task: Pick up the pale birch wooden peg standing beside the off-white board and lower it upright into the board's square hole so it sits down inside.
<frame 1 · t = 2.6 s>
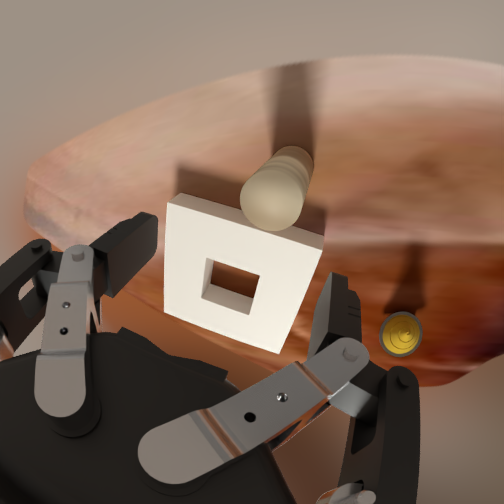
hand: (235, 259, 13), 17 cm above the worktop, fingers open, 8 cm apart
wooden peg: (292, 166, 27), on the worktop
socket board: (236, 272, 35), on the worktop
drill bit: (395, 315, 32), on the worktop
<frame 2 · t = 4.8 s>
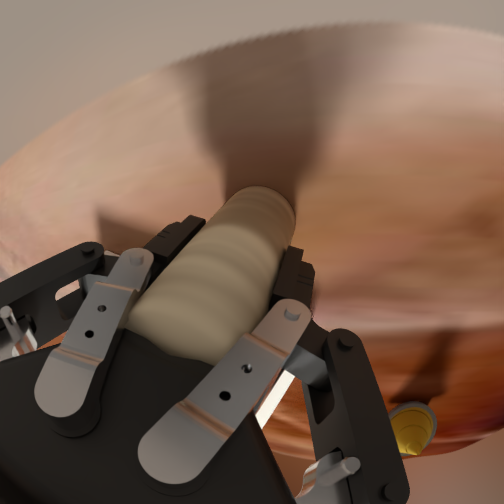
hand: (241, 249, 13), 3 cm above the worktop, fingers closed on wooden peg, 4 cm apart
wooden peg: (259, 220, 16), on the worktop, touching gripper
socket board: (192, 353, 24), on the worktop
drill bit: (404, 403, 21), on the worktop
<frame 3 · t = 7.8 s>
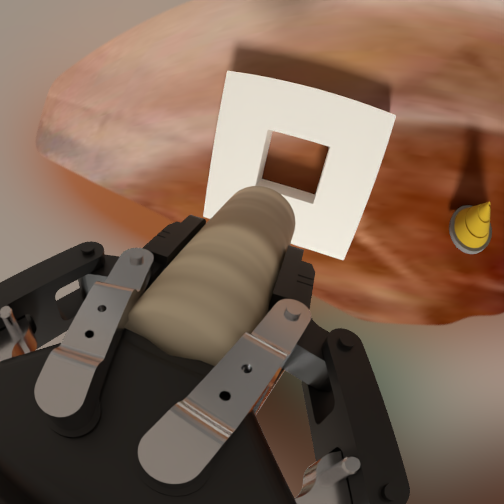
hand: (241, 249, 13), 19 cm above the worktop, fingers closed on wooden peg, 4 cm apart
wooden peg: (259, 220, 16), point 16 cm above the worktop, touching gripper
socket board: (295, 160, 29), on the worktop
drill bit: (460, 212, 27), on the worktop
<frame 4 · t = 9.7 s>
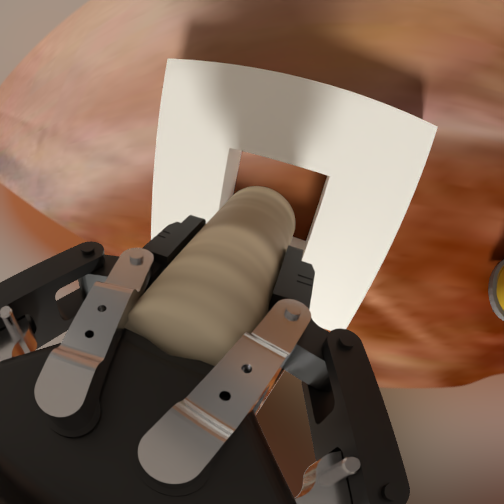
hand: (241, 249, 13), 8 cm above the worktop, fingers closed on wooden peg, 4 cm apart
wooden peg: (259, 220, 16), point 5 cm above the worktop, touching gripper
socket board: (276, 191, 20), on the worktop
drill bit: (502, 263, 17), on the worktop
when the fingers open (5 cm above the worktop, at t = 11.2 s): wooden peg drops 1 cm, resting in socket board.
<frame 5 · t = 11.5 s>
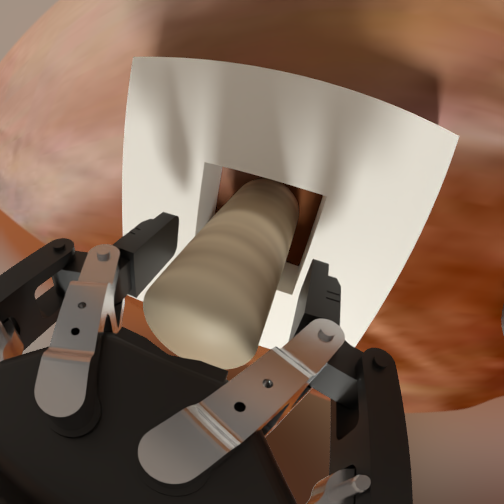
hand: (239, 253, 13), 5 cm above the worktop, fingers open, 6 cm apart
wooden peg: (265, 210, 17), resting in socket board
socket board: (264, 210, 17), on the worktop
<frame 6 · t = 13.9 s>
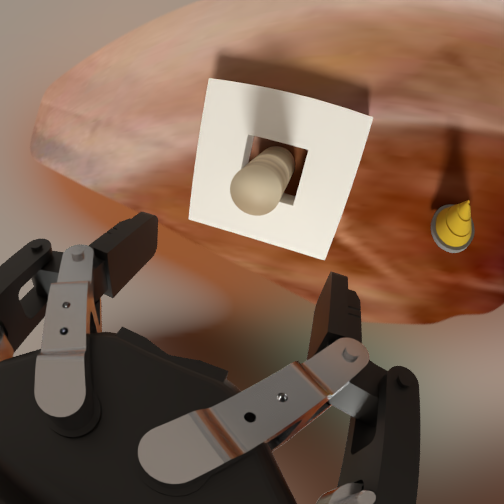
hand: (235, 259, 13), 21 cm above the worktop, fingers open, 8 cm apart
wooden peg: (276, 163, 31), resting in socket board
socket board: (276, 163, 31), on the worktop
drill bit: (442, 212, 28), on the worktop
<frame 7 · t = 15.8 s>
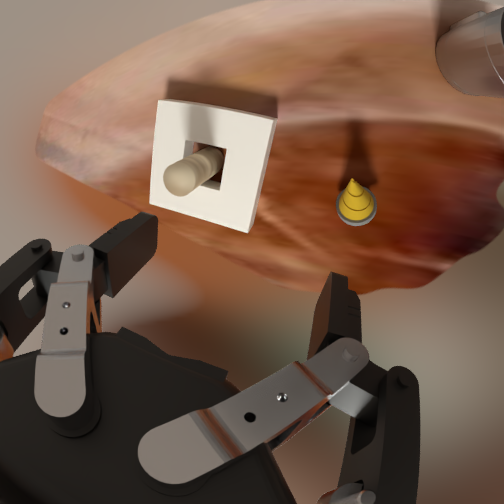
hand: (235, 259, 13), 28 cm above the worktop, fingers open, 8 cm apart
wooden peg: (211, 160, 40), resting in socket board
socket board: (210, 160, 40), on the worktop
drill bit: (350, 193, 38), on the worktop
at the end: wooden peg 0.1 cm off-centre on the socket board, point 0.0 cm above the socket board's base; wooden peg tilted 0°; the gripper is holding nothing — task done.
